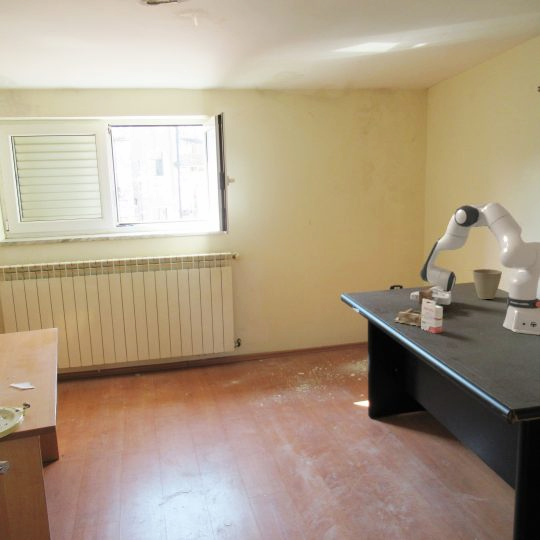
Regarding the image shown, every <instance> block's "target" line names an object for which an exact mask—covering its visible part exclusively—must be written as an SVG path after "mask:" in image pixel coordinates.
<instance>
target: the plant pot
mask: <svg viewBox="0 0 540 540" xmlns="http://www.w3.org/2000/svg"><path fill="white" fill-rule="evenodd" d="M472 275H473V282H474V286H475V291H476V294H477V296H478V299H479V298H480V299H479V300H482V299H492V300H494V298H495V296H496V293H497V292H498V288H499V285H500V282H501V278H502V271H501V270H497V269H492V268H490V269H489V268H488V269H487V268H479V269H474V270H472Z"/></svg>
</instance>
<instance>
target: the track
mask: <svg viewBox="0 0 540 540" xmlns="http://www.w3.org/2000/svg"><path fill="white" fill-rule="evenodd" d="M421 314H422V312H419V311H417V310H414V308H408V309H407V310H405V311H398V317H396V318H394V319H393V323H394V322H400V323H405V324H404V325H406V324H410V325H409V326H412V325H416V326H415V327H418V326H421ZM400 323H399V324H400Z"/></svg>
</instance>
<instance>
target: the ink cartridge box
mask: <svg viewBox="0 0 540 540" xmlns="http://www.w3.org/2000/svg"><path fill="white" fill-rule="evenodd" d="M427 302H430V303H431V304H430V303H427ZM443 311H444V307H443V306H441V305H438V304H436V302H435V301H432V300H428V299H424V298H423V300H422V314H421V327H420V328H421V330H423V329H424V330H423V331H426V330H427V331H426V332H429V333H431V332H432V333H431V334H437V333H442V332H443V316H444V315H443V313H444V312H443Z"/></svg>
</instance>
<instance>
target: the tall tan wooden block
mask: <svg viewBox="0 0 540 540" xmlns="http://www.w3.org/2000/svg"><path fill="white" fill-rule="evenodd" d="M429 289H430V288H429ZM429 289H428V288H426V289H425V288H423V289H422V290H421V289H420V290H418V292H419V301H418V311H419V312H422V300H423V298H424V299H428V300H431V299H432V294H433V290H429ZM427 303H430V302H427ZM430 304H431V303H430Z"/></svg>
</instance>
